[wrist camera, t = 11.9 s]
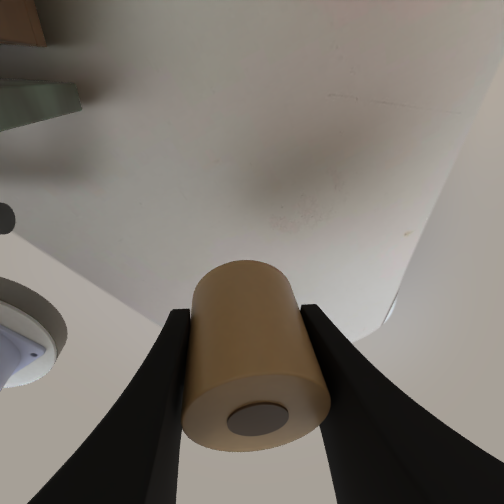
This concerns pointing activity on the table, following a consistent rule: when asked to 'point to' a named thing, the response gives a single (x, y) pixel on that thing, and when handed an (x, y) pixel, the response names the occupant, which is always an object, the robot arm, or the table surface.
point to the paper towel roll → (249, 363)
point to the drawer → (28, 83)
